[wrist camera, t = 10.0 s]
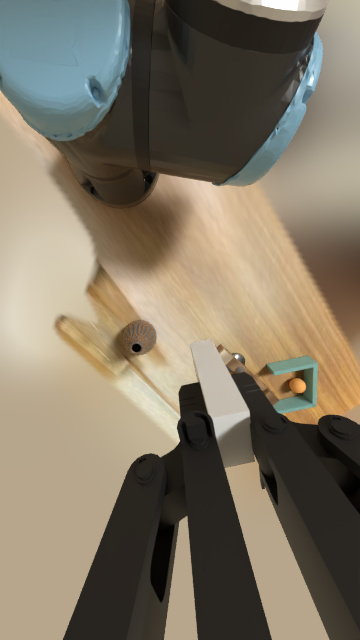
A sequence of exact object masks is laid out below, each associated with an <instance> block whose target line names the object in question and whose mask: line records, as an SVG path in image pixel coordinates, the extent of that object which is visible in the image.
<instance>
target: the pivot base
mask: <svg viewBox="0 0 360 640" xmlns="http://www.w3.org/2000/svg"><path fill="white" fill-rule="evenodd" d="M232 355H233V356H234V357H235V358H236V359H238V360H239V361H240V362H241V363H242V364H243V365H245V359H244V357H243V356H242V355H241V354H239V353H233V354H232ZM226 367H227V369H228V370H229V371H231V372H233V371H232V370H231V369H230V368H229V367H228V366H227V365H226Z"/></svg>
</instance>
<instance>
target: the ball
mask: <svg viewBox="0 0 360 640" xmlns="http://www.w3.org/2000/svg"><path fill="white" fill-rule="evenodd" d="M289 385H290V388H291V390H292V391H294V392H296V393H302V392H304V391H305V389H306V385H305V383H304V381H303V380H301V379H299V378H294V379H292V380H291V381H290V384H289Z"/></svg>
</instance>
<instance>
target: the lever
mask: <svg viewBox="0 0 360 640" xmlns="http://www.w3.org/2000/svg"><path fill="white" fill-rule="evenodd" d="M217 350H218V352H219V354H220V356H221V358H222V360H223V362H224V364H225V365H227V366H228V367H229V368H230V369H231V370H232V371H233V372H235V373H236V374H237V373H241V372H246V373H247V374H249V375H251V376H252V377H253V378H254V380H255V381H256V383H257V384H258V385H259V387H260V388H261V390H262V391H263V393H264V394H265V395H266V397H267V398H268V400H269V401H270V403H271V404H272V405H275V404H276V403H277V402H278V401H279V399H278V398H277V397H276V396H275V394H274V393H273V392H272V391H271V390H270V389H269V388H268V387H267V386H266V385H265V384H264V383H262V382H261V381H260V380H259V379H258V378H257V377H256V376H255V375H254V374H253V373H252V372H251V371H249V370H248V369H247V368H246V367H245V366H244V365H243V364H242V363H241V362H240V361H239V360H238V359H236V358H235V357H234V356H233V355H232V354H231V353H230V352H229V351H228V350H227V349H226V348H224V347H223V346H222V345H219V346H218V347H217Z"/></svg>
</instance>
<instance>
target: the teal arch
mask: <svg viewBox="0 0 360 640" xmlns="http://www.w3.org/2000/svg"><path fill="white" fill-rule="evenodd" d="M267 368H268V369H269V370H270V371H271V373H272V374H273V375H279V374H284V373H289V372H293V371H298V370H303V369H304V383H305V385H306V389H305V391H304V395H300V396H296V397H291V398H286V399H282V400H279V401H278V402H277V403H276V404H275V405H273V407H274V408H275V410H276V411H277V412H278V413H280V414H282V413H287V412H292V411H297V410H301V409H306V408H311V407H316V401H317V370H318V363H317V362H316V361H315V360H313V359H312V358H310V357H309V356H303V357H298V358H294V359H289V360H284V361H279V362H275V363H270V364H267Z"/></svg>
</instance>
